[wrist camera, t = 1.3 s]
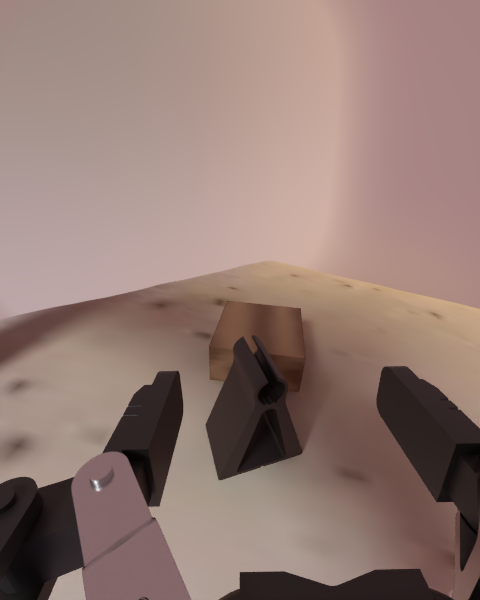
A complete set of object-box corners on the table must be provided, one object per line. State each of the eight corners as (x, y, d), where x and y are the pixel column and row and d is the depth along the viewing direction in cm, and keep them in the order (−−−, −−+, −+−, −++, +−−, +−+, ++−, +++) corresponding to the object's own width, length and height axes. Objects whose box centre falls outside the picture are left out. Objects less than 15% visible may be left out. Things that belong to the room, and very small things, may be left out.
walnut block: (210, 380, 37) (209, 346, 34) (226, 330, 48) (226, 300, 45) (298, 393, 36) (305, 358, 33) (295, 338, 46) (300, 308, 43)
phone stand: (277, 408, 33) (289, 328, 27) (301, 454, 28) (322, 369, 22) (205, 426, 31) (201, 342, 25) (217, 481, 26) (216, 392, 20)
